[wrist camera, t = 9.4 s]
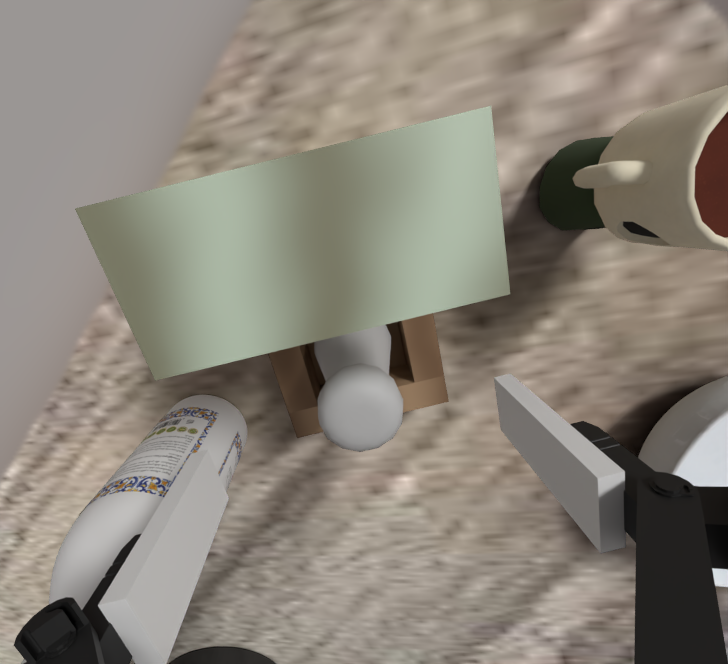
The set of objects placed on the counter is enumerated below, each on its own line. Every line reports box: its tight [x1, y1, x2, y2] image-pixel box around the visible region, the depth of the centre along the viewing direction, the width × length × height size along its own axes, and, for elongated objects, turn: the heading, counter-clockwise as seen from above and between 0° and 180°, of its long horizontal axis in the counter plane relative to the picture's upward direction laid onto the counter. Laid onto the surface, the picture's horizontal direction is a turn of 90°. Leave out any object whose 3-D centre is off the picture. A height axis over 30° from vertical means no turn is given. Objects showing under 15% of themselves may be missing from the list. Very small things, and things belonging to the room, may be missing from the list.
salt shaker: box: [314, 325, 403, 452], centre depth 23 cm, size 6×6×13 cm
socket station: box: [75, 106, 510, 438], centre depth 21 cm, size 12×17×17 cm
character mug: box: [540, 85, 728, 251], centre depth 21 cm, size 11×7×13 cm, turn 91°
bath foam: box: [21, 395, 247, 664], centre depth 22 cm, size 7×7×20 cm
